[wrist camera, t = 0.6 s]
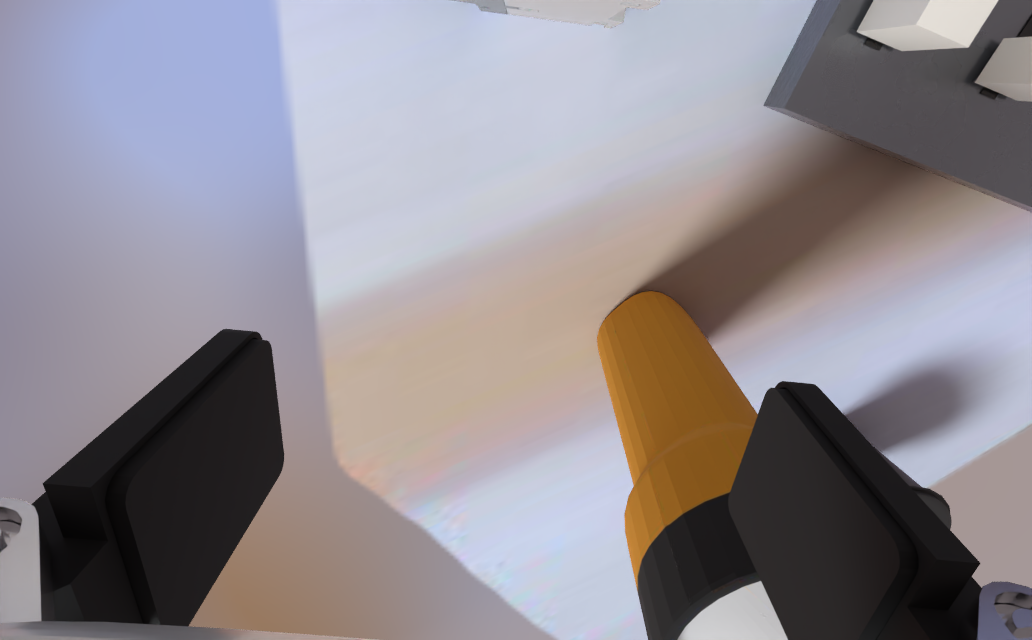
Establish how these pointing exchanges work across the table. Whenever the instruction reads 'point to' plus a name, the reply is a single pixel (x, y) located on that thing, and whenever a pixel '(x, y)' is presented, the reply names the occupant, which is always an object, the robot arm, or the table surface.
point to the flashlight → (682, 475)
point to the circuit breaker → (567, 9)
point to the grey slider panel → (914, 98)
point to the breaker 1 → (925, 23)
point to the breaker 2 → (1010, 69)
